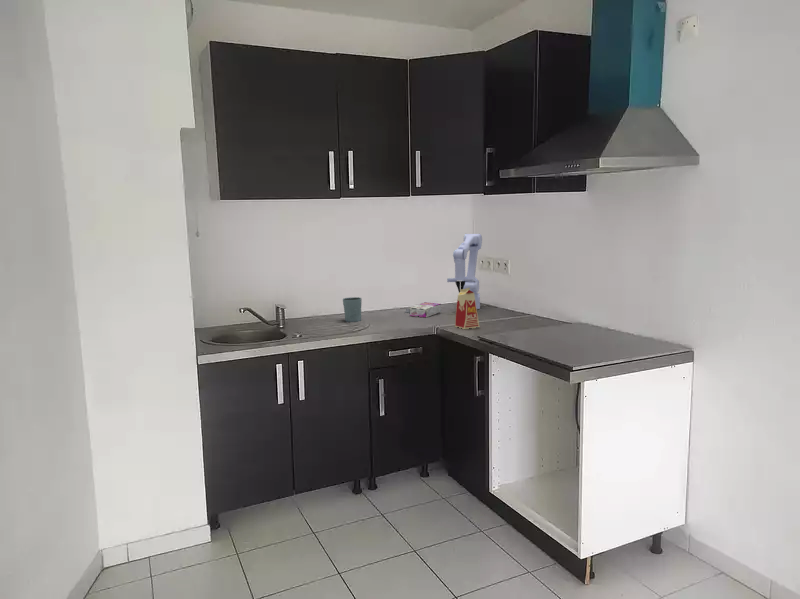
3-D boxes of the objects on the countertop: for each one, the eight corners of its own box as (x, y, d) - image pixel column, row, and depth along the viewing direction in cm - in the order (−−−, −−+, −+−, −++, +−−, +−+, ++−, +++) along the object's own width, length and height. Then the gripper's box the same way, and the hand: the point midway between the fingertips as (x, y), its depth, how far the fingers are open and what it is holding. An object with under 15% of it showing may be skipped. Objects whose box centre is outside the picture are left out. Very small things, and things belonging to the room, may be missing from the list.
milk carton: (479, 327, 288) (479, 287, 285) (464, 329, 283) (464, 288, 280) (468, 324, 296) (468, 285, 293) (453, 326, 291) (453, 286, 288)
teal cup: (357, 322, 309) (356, 300, 307) (340, 321, 312) (339, 299, 310) (365, 319, 318) (364, 297, 316) (348, 318, 321) (347, 296, 320)
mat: (431, 309, 345) (431, 308, 344) (431, 313, 332) (431, 312, 332) (406, 309, 346) (406, 308, 346) (404, 313, 333) (404, 312, 333)
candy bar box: (425, 310, 337) (409, 316, 324) (424, 302, 336) (408, 307, 323) (441, 312, 331) (426, 318, 318) (441, 303, 330) (425, 308, 317)
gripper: (447, 271, 323) (447, 295, 325) (473, 271, 322) (473, 295, 324) (447, 270, 330) (447, 294, 332) (473, 269, 329) (473, 293, 331)
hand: (460, 294), depth 328 cm, fingers closed
